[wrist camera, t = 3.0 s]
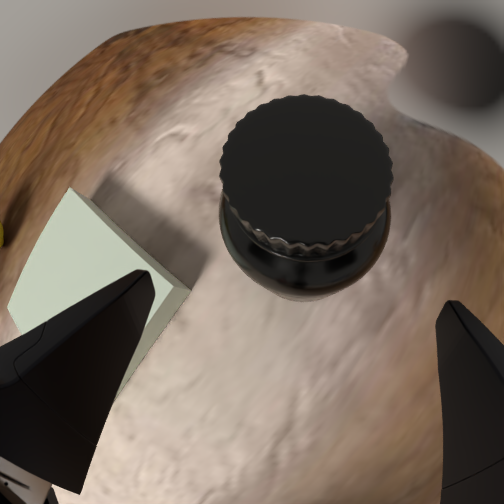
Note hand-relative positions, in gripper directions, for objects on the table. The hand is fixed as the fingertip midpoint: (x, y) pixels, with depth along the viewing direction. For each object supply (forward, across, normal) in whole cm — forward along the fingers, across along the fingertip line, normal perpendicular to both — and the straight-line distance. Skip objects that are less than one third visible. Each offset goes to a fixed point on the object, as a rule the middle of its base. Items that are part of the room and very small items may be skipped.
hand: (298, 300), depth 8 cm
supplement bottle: (+10, 0, +5) cm, 11 cm away
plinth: (+6, +16, +9) cm, 19 cm away
